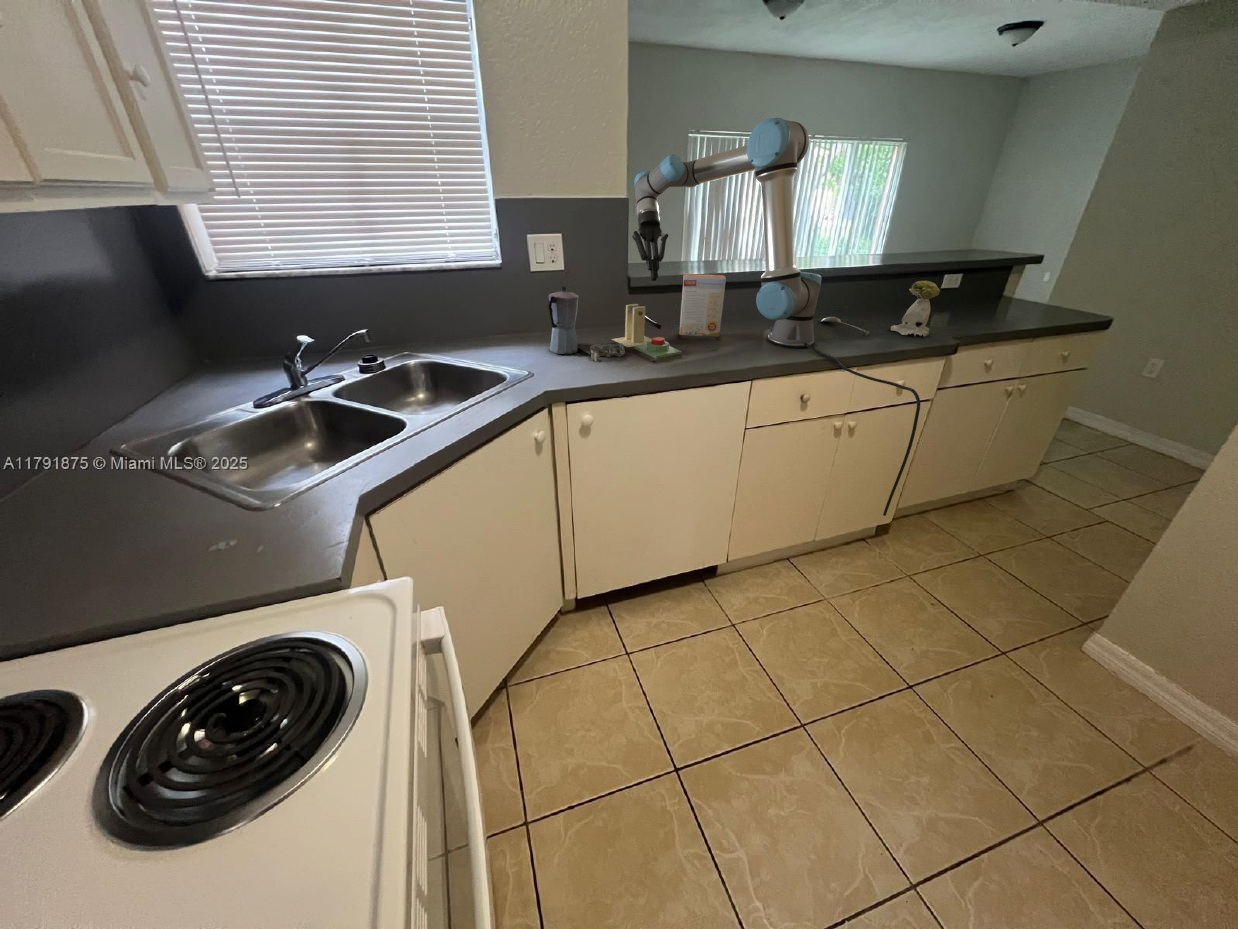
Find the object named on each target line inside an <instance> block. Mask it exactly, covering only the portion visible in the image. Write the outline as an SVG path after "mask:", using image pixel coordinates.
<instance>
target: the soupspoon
mask: <svg viewBox="0 0 1238 929" xmlns="http://www.w3.org/2000/svg"><path fill="white" fill-rule="evenodd" d="M820 322H834V323H836V324H837V323H838V324H842V325H846V326H848V327H851V328H854V329H857V330H859V331H861V332H862V333H864V335H865V336H869V335H870V330H866V329H864V328H860V327H858V326H855V325H853V324H849V323H846V322H843V321H841V319H840V318H838V317H836V316H827V317H825V318H823V319H821V320H820Z"/></svg>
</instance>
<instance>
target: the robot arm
mask: <svg viewBox="0 0 1238 929" xmlns="http://www.w3.org/2000/svg"><path fill="white" fill-rule="evenodd" d="M809 146H810V136H809V132H808V130H807V128H806V127H805V125H803V124H802V123H800V122H798V121H794V120H788V119H784V118H781V117H770V118H766V119H764V120H762V121H761V122H759V123H758V124H757V125H756V126H755V127H754V128H753V130H752V131H751V133H750V134H749V137H748V139H747V144H745V145H742V146H738V147H735V148H731V149H728V150H725V151H722V152H718V153H714V154H711V155H707V156H704V157H701V158H698V159H697V158H696V159H694V160H690V161H683V160H682V159H681V157H680V156H677V154H675V153H671V154H669V155H668V156H666V157H665V158H663V159H662V160H661V161H660V162H659V164H658V165H656V166H655V167H654V169H652V170H651V171H650V170H643V171H642V172H638V173H637V174H636V176H635V178H634V189H633V190H634V195H635V203H636V213H637V225H638V229H637V230H634V231H633V233H632V236H631V238H632V239H633V241H634V242H635V245H636V247H637V248H636V249H637V250H638V253H639V257H640V258H641V261H645V264H646V265H647V266H646V267H647V270H648V271H650V280H651V281H653V282H656V281H657V279H658V277H659V273H658V272H659V270H660V268H661V267H660V263H661V262H662V261H663V259H664V257H665V251H666V245H667V240H668V238H669V234H668V233H663V230H662V228H661V220H660V219H661V218H660V210H659V200H658V197H659V196H660V195H661V194H663V193H664V192H665V191H667V190H668V189H669V188H694V187H698V186H700V185H701V184H705V183H708V182H709V183H710V182H713V181H718V180H721V179H725V178H731V177H733V176H737V175H738V176H739V175H742V174H746V173H750V172H754V176H755V177H754V179H755V180H756V181H757V182H758V183H759V185H760V190H761V191H760V192H761V207H762V209H761V210H762V224H763V225H762V226H763V245H764V262H765V271H764V272H763V274H762V275H761V277H760V281H761V283H760V284H761V287H760V289H759V291H758V292H757V294H756V298H755V303H756V308H757V310H758V312H759V314H761V315H762V316H763V317H764V318H765V319H767V320H770V321H774V323H773V325H772V327H771V329H770V331H769V334H768V337H767V340H768V342H770V343H772V344H773V345H776V346H781V347H785V348H795V349H802V348H808V349H810V350H811V351H813V352H814V353H816V354H817V355H820V356H822V357H825V358H827V359H830V360H831V361H833V362H835V363H836V364H838V365H839V366H840V368H841V369H843V370H845V371H846V372H848V373H850V374H852V375H855V376H857V377H860V378H864V379H866V380H870V381H873V382H877V383H881V384H885V385H890V386H893V387H896V388H898V389H902V390H905V391H909V392H911V393H912V394H913V396H914V398H915V401H916V409H915V414H914V420H913V425H912V429H911V434H910V438H909V442H908V445H907V449H906V451H905V454H904V458H903V461H902V463H901V466H900V468H899V471H898V473H897V476H896V479H895V481H894V484H893V486H892V489H891V491H890V494H889V496H888V499H887V502H886V505H885V507H884V510H883V513H882V516H883V517H886V516H887V514H888V510H889V508H890V504H891V502H892V499H893V497H894V494H895V492H896V489H897V487H898V484H899V483H900V479H901V477H902V475H903V472H904V469H905V467H906V464H907V462H908V458H909V456H910V453H911V449H912V447H913V444H914V439H915V436H916V431H917V428H918V422H919V416H920V411H921V399H920V395H919V394H918V392H917V391H916V390H915V389H914V388H912V387H909V386H905V385H903V384H900V383H896V382H893V381H888V380H885V379H881V378H876V377H872V376H869V375H866V374H863V373H860V372H857V371H855V370H852V369H850V368H849V367H847V366H845V365H844V364H843V363H842V362H841V361H840V360H839V359H838V358H837V357H834V356H832V355H830V354H826V353H824V352H821V351H820V350H817V349H816V348H814V347H813V345H814V342H815V333H814V332H815V331H814V316H815V313H816V307H817V304H818V299H819V296H820V290H821V287H822V280H823V279H822V275H820V274H818V273H813V272H805V271H801V269H799V268H798V267H797V266H796V259H795V256H796V255H795V228H794V200H793V199H794V198H793V197H794V196H793V177H794V175H795V173H796V172H797V171H798V164H799V163H800V162H801V161H802V160H803V159H804V157H806V154H807V152H808V149H809ZM659 238H660V245H659V244H658V242H659V241H658V240H659Z"/></svg>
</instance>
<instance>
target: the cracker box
mask: <svg viewBox="0 0 1238 929" xmlns="http://www.w3.org/2000/svg"><path fill="white" fill-rule="evenodd" d="M726 282H727V277H726V276H725V275H724V274H699V273H698V274H697V273H695V274H693V273H691V274H689V273H685V274H683V281H682V293H681V305H680V321H679V335H680V336H692V337H693V336H695V337H718V338H719V337H720V334H721V326H722V317H723V309H724V299H725V290H726Z"/></svg>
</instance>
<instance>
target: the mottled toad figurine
mask: <svg viewBox="0 0 1238 929" xmlns="http://www.w3.org/2000/svg"><path fill="white" fill-rule="evenodd" d="M589 349H590V352H589V353H591V354H590V357H591V361H595V362H600V361H601V359H600V357H606V358H611V357H613V356H616V357H622V356H625V354H626V351H625V350H626V349H625V346H624V345H623V344H622V343H616V344H615V343H613V344H611V343H608V344H599V343H593V344H592V345H591V346H590V347H589ZM617 351H619V352H617Z"/></svg>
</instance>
